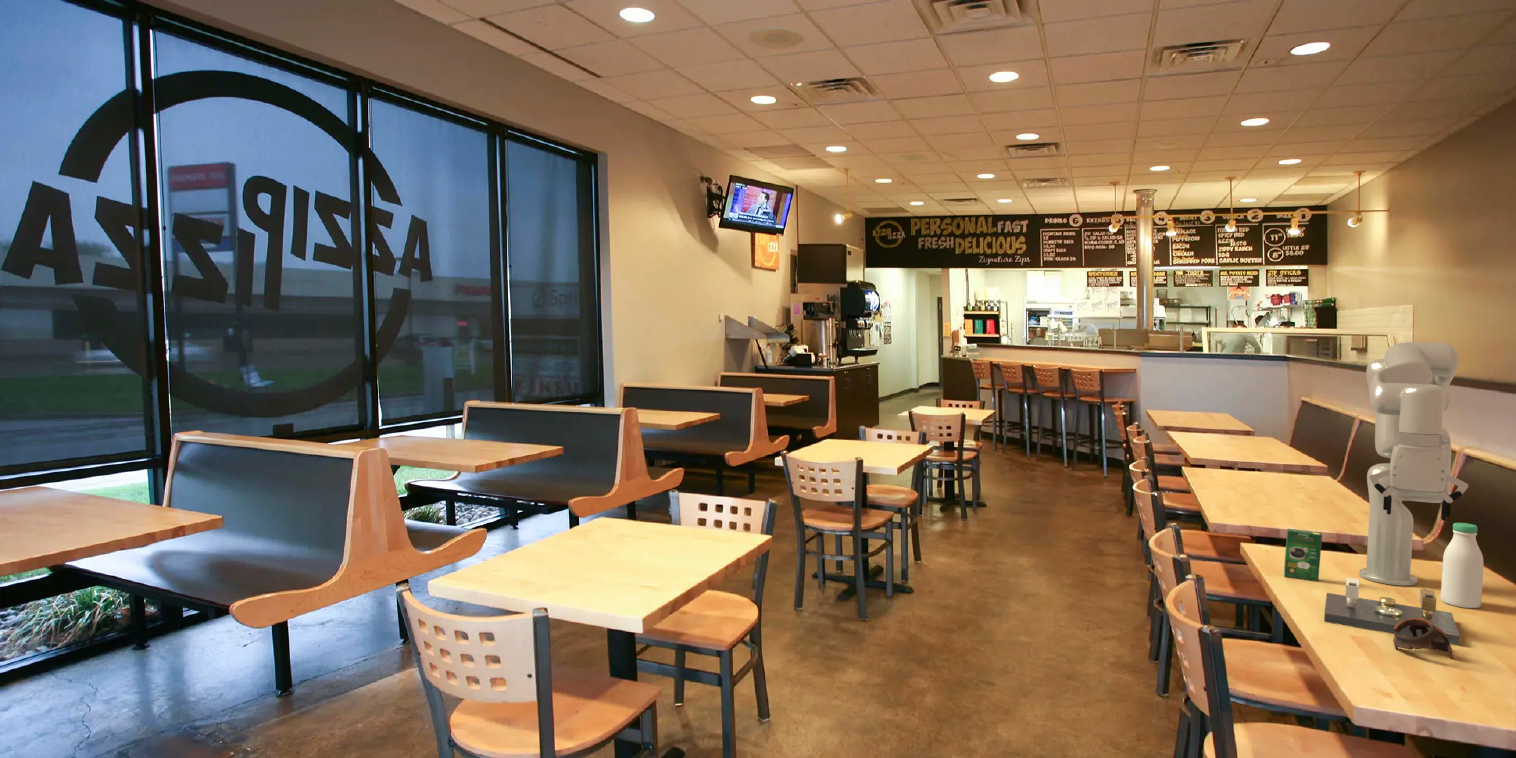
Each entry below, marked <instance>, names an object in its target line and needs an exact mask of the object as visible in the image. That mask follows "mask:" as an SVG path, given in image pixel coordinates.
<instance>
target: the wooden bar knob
mask: <svg viewBox="0 0 1516 758" xmlns="http://www.w3.org/2000/svg"><path fill="white" fill-rule="evenodd" d="M1419 594H1420V595H1419V603H1420V608H1422V618H1424V619H1432V611H1433V612H1436V610H1437V597H1436V593H1435V590H1432V589H1426V588H1420V593H1419Z"/></svg>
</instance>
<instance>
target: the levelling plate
mask: <svg viewBox="0 0 1516 758" xmlns="http://www.w3.org/2000/svg"><path fill="white" fill-rule="evenodd" d="M1396 602H1397V601H1396V599H1394V598H1392V597H1388V596H1381V597H1379V600H1375V599H1374V600H1373V599H1369V598H1362V597H1358V599H1356V607H1351V606H1347V598H1346V595H1342V594H1336V593H1331V592H1326V598H1325V606H1324V617H1323V618H1324V620H1323V621H1324V622H1325V623H1331V624H1337V625H1343V626H1347V627H1354V628H1359V629H1364V630H1369V631H1376V632H1380V633H1387V634H1391V635H1394V634H1395V631H1394V627H1395V625H1396V624H1398V623H1399V622H1401V621H1403V620H1406V619H1410V618H1416V617H1418V618H1422V608H1421V607H1419V606H1413V605H1405V604H1399V603H1396ZM1453 615H1454V614H1453V613H1452V612H1449V611H1444V610H1443V611H1442V610H1438V609H1436V612H1433V611H1432V619H1427V620H1429V621H1430V622H1432V623H1433V625H1434V626H1437V627H1438V628H1440V629H1441V630H1442V631H1443V632H1444V633H1445V634H1446V635H1447V637H1448V639H1449V643H1450V645H1454V646H1460V639H1461V638H1460V637H1461V635H1460V633H1459V630H1458V627H1457V625H1456V621H1455V619H1454V616H1453ZM1423 619H1424V618H1423ZM1408 627H1409V626H1408ZM1408 627H1405V628H1403V629H1402V630H1400V631H1399V634H1400V635H1402V636H1406V637H1413V636H1412V633H1411V632H1410V630H1409V629H1408ZM1427 629H1428V630H1430V628H1428V627H1427Z"/></svg>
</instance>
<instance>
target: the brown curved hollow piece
mask: <svg viewBox="0 0 1516 758" xmlns="http://www.w3.org/2000/svg"><path fill="white" fill-rule="evenodd" d="M1408 626H1409V627H1408ZM1405 627H1408V629H1409V630H1410V632H1411V633H1412V636H1413V637H1409V636H1403V635H1400V634H1399V631H1400V630H1402V629H1403V628H1405ZM1427 627H1428V628H1430V630H1428V629H1427ZM1394 631H1395V634H1393V639H1392V641H1393V646H1394V649H1395V650H1396V651H1398V650H1399V649H1405V650H1413V649H1414V650H1421V649H1427V650H1430V651H1440V652H1441V651H1442V652H1443V653H1447V654H1448V655H1449V658H1450V660H1454V654H1453V651H1454V650H1453V647H1452V646H1451V644H1450V643H1449V639H1448V637H1447V635H1446V634H1445V633H1444V632H1443V631H1442V630H1441V629H1440V628H1438V627H1437V626H1434V625H1433V623H1432V622H1430V621H1429V620H1427V619H1423V618H1418V617H1416V618H1410V619H1406V620H1403V621H1401V622H1399V623H1398V624H1396V625H1395V627H1394Z"/></svg>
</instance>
